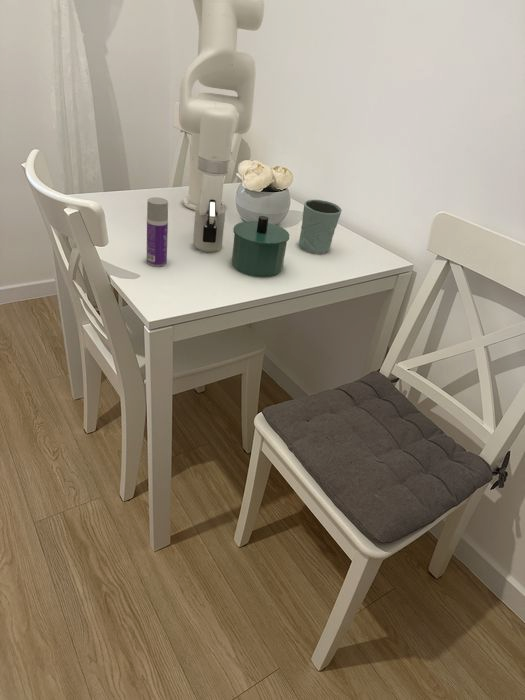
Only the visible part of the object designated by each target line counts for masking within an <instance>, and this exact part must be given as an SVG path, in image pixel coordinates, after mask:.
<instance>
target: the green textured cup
mask: <svg viewBox="0 0 525 700" xmlns="http://www.w3.org/2000/svg"><path fill="white" fill-rule="evenodd" d="M341 215H342V208H341V206H339V205H337V204H336V203H333V202H331V201H329V200H323V199H308V200H306V201H304V204H303V211H302V220H301V221H302V222H301V226H300V234H299V239H298V248H299V249H301V250H302V251H304V252H306V253H310V254H313V255H324V254H327V253H329V251H330V248H331V245H332V242H333V238H334V235H335V231H336V228H337V226H338V223H339V219H340V217H341Z"/></svg>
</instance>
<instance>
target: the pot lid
mask: <svg viewBox="0 0 525 700" xmlns="http://www.w3.org/2000/svg"><path fill="white" fill-rule="evenodd" d="M269 219H270V218H269V217H268V216H266V215H259V216H258V218H257V220H247V221H241V222H238V223H236V224H234V226H233V228H232V229H233V234H235V235H236V236H237V237H239V238H241V239H243V240H245V241H248V242H251V243H255V244H260V245H279V244H283V243H285V242H287V243H288V241H289V239H290V233H289V232H288V231H287V229H285V228H283V226H282V227H281V226H280V225H277V224H275V223H271V222H269Z"/></svg>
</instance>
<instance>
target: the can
mask: <svg viewBox="0 0 525 700" xmlns="http://www.w3.org/2000/svg"><path fill="white" fill-rule="evenodd" d="M198 203H199V202H198ZM223 203H224V202H223ZM223 203H222V202H221V209H220V215H219V216H218V217H217V221H216V227H217V231H216V242H215V243H210V242H203V229H204V226H205V215H202V216H201V215H200V213H199V205H200V203H199V204H198V205H197V206H196V207H195V210H194V220H193V221H194V223H193V224H194V225H193V240H192V245H193V246H194V247H195V248H196V249H197V250H198V251H201V252H204V253H215V252H218V251H219V250H220V249H221V248H222V247H223V240H224V229H225V219H226V209H225V207H223ZM209 206H210V201H209ZM207 214H209V211H207ZM217 214H218V212H217ZM208 219H209V217H208ZM208 219H207V220H208Z"/></svg>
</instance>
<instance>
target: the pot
mask: <svg viewBox="0 0 525 700" xmlns="http://www.w3.org/2000/svg"><path fill="white" fill-rule="evenodd" d="M233 234H234V233H233ZM287 244H288V241H287V242H285V243H283V244H279V245H260V244H255V243H251V242H248V241H245V240H243V239H241V238H239V237H237V236H236V235H235V234H234V235H233V246H232V255H231V266H232V267H233V269H234V270H236V271H237V272H239V273H241V274H243V275H245V276H248V277H249V276H250V277H255V278H272V277H275V276H278V275H279V274H280V273H282V271H283V266H284V262H285V255H286V250H287Z"/></svg>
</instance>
